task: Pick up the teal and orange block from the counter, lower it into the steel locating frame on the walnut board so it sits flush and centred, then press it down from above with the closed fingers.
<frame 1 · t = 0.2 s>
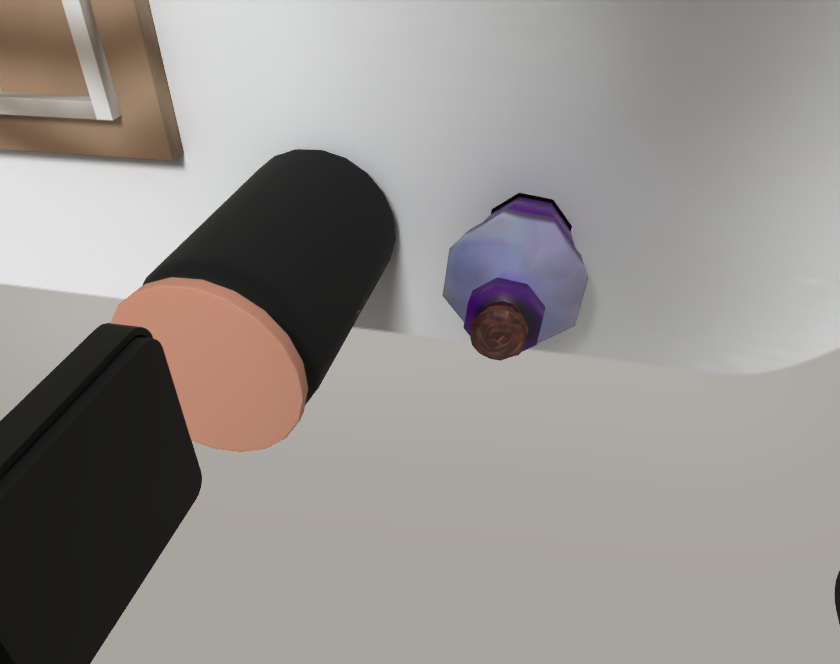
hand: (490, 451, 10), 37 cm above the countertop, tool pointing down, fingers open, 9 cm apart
walnut board: (46, 28, 49), on the countertop
coffee jar: (327, 214, 52), on the countertop
potion bottle: (528, 230, 49), on the countertop
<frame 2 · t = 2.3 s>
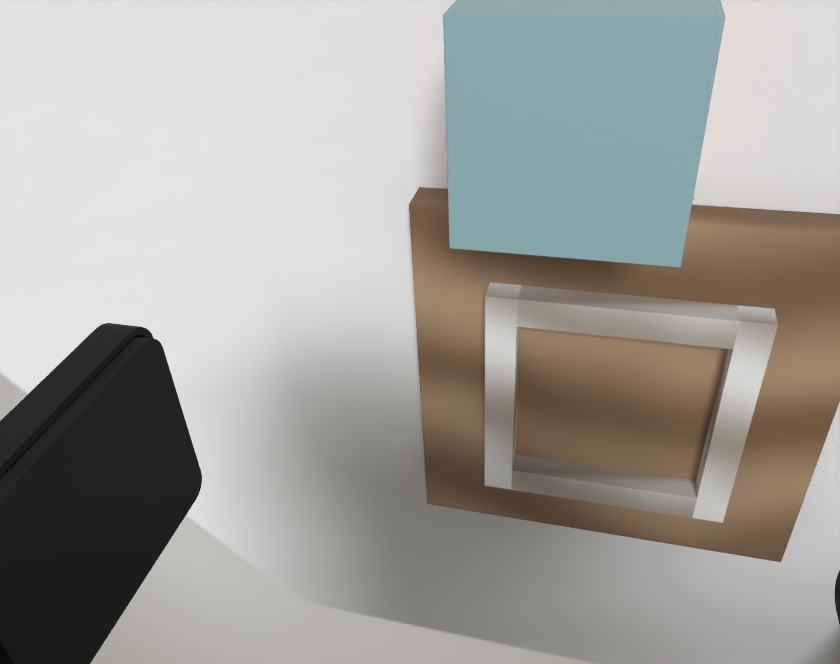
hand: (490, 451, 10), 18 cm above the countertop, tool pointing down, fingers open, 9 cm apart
walnut board: (613, 376, 31), on the countertop
teal and orange block: (591, 54, 24), on the countertop
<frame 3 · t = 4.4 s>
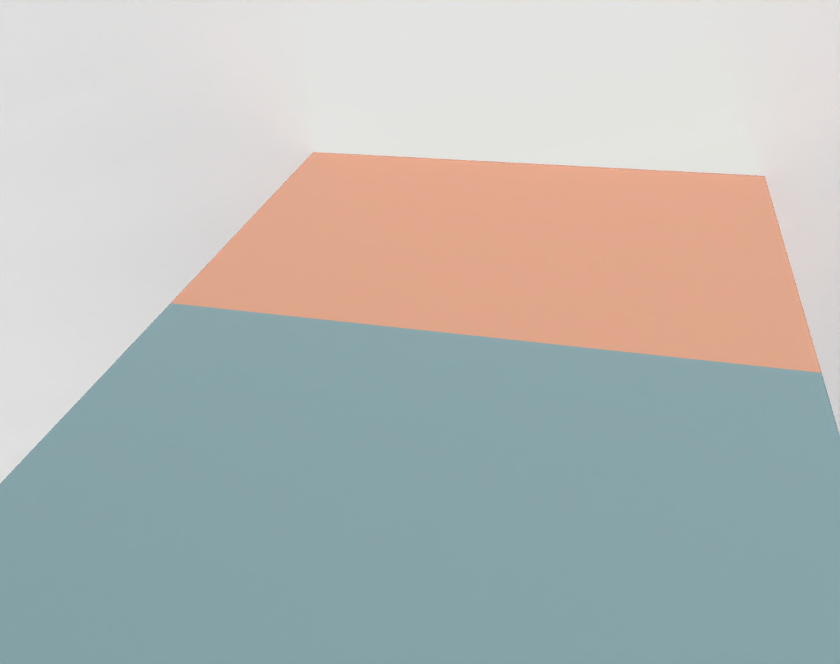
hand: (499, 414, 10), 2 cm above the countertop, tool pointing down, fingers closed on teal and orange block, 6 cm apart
teal and orange block: (517, 344, 12), on the countertop, touching gripper
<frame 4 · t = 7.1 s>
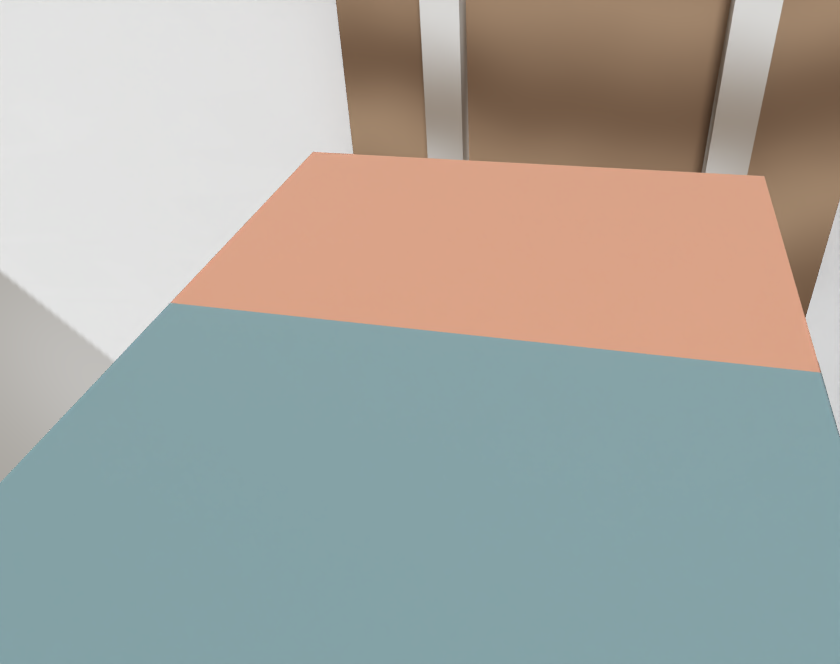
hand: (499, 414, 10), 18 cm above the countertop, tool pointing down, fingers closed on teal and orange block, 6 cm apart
walnut board: (590, 71, 24), on the countertop
teal and orange block: (516, 344, 12), point 16 cm above the countertop, touching gripper
when the fingers open (4 cm above the countertop, at t = 10.1 s): teal and orange block drops 1 cm, resting on walnut board.
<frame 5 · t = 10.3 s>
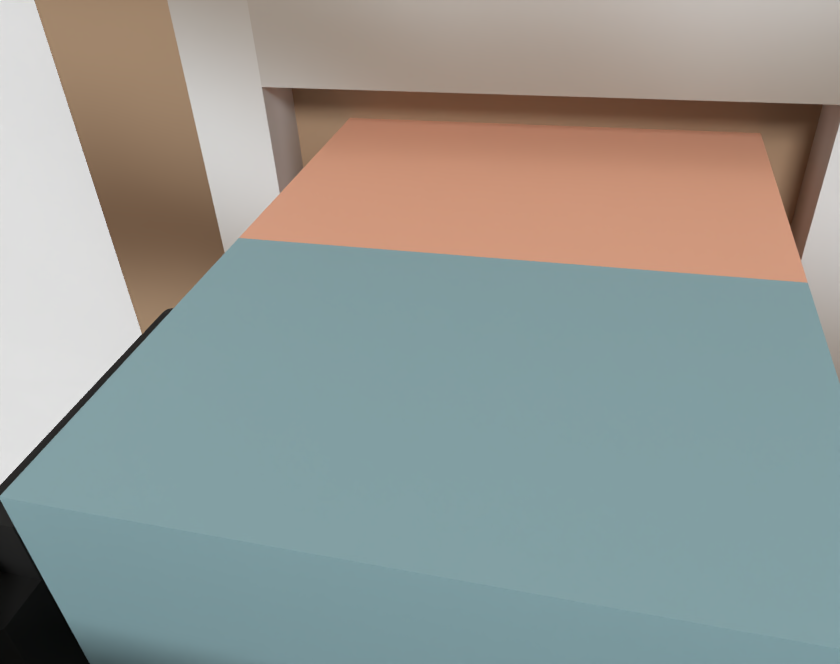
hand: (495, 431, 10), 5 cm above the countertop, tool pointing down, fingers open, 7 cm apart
walnut board: (538, 255, 14), on the countertop
teal and orange block: (534, 296, 13), point 1 cm above the countertop, touching walnut board
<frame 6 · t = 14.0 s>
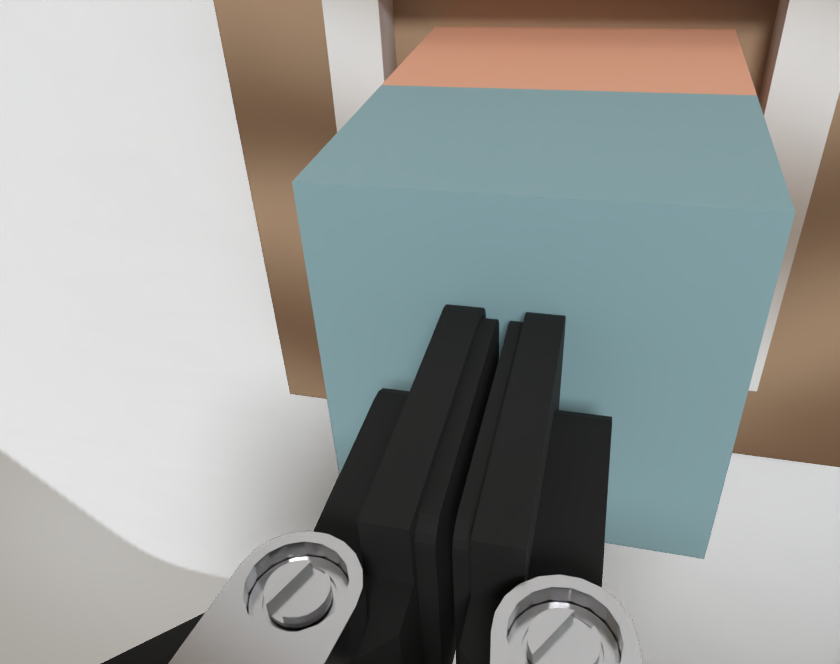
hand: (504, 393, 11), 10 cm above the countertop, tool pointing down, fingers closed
walnut board: (569, 143, 18), on the countertop
teal and orange block: (569, 166, 17), point 1 cm above the countertop, touching gripper, walnut board
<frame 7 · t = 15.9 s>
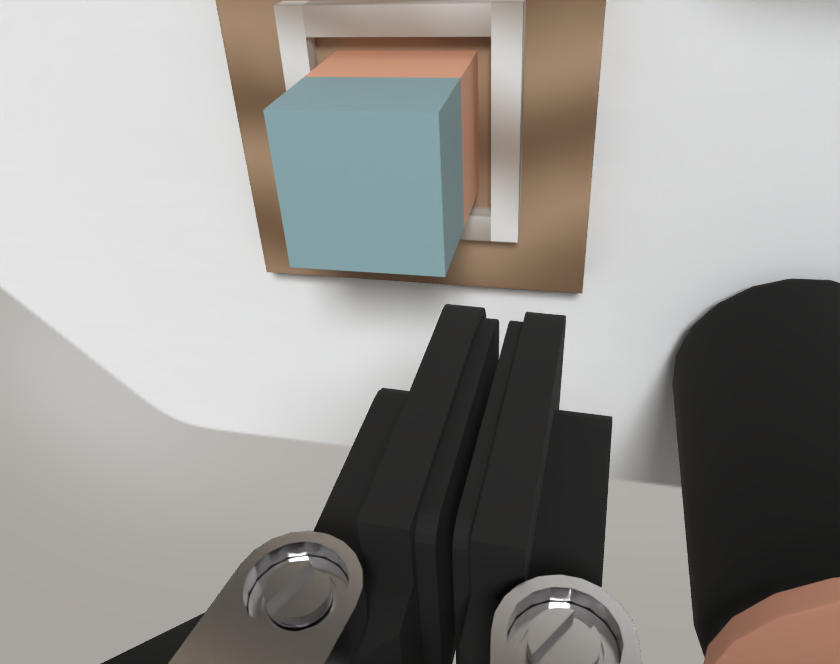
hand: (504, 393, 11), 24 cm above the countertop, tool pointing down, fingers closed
walnut board: (415, 112, 34), on the countertop
teal and orange block: (410, 122, 32), point 1 cm above the countertop, touching walnut board
coffee jar: (784, 359, 37), on the countertop
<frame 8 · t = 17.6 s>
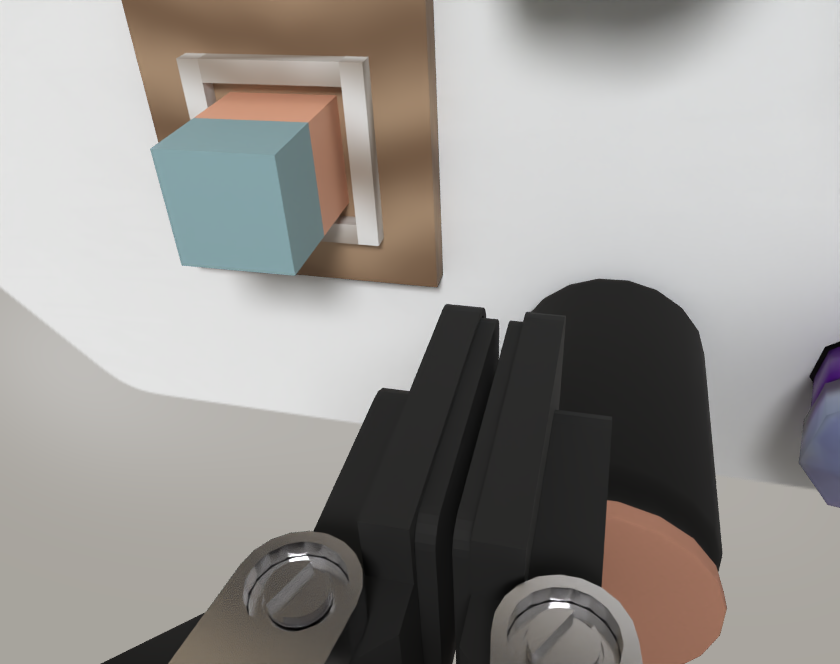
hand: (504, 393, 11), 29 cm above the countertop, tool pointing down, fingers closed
walnut board: (299, 139, 42), on the countertop
teal and orange block: (291, 148, 41), point 1 cm above the countertop, touching walnut board
coffee jar: (608, 343, 45), on the countertop
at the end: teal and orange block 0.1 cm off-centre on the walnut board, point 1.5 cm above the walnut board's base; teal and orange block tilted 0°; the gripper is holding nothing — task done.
